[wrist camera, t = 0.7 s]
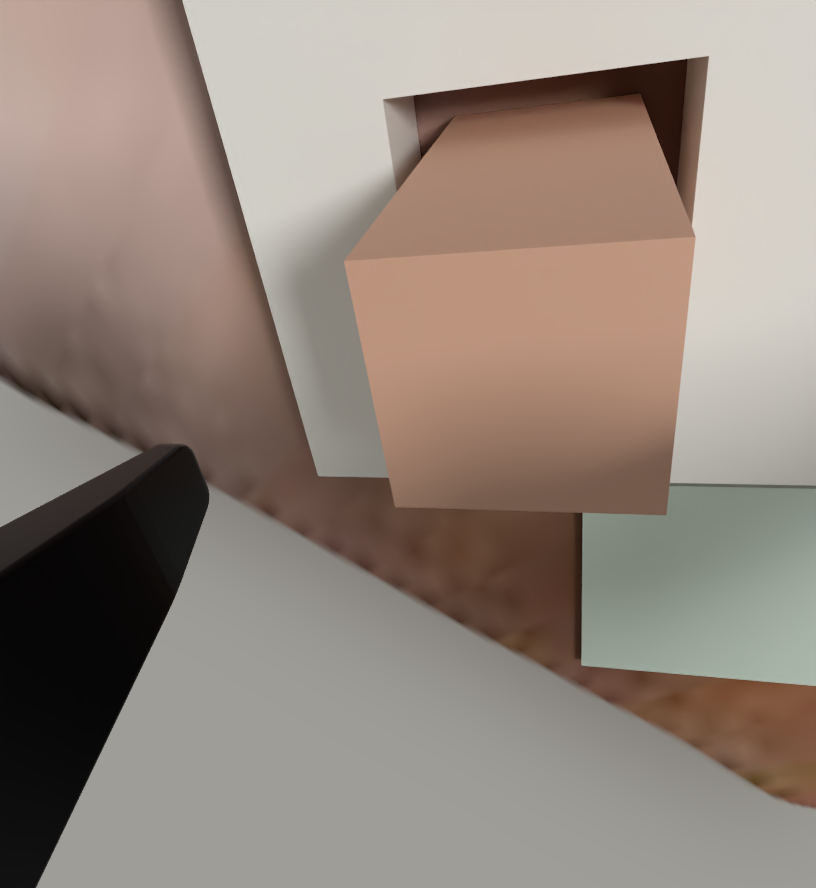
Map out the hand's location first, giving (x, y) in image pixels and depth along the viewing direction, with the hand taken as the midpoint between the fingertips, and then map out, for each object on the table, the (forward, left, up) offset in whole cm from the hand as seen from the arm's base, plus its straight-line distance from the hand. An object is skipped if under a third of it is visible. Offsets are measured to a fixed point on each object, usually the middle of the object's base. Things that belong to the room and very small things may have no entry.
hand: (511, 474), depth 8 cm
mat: (-6, +15, -12) cm, 20 cm away
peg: (0, 0, -12) cm, 12 cm away
